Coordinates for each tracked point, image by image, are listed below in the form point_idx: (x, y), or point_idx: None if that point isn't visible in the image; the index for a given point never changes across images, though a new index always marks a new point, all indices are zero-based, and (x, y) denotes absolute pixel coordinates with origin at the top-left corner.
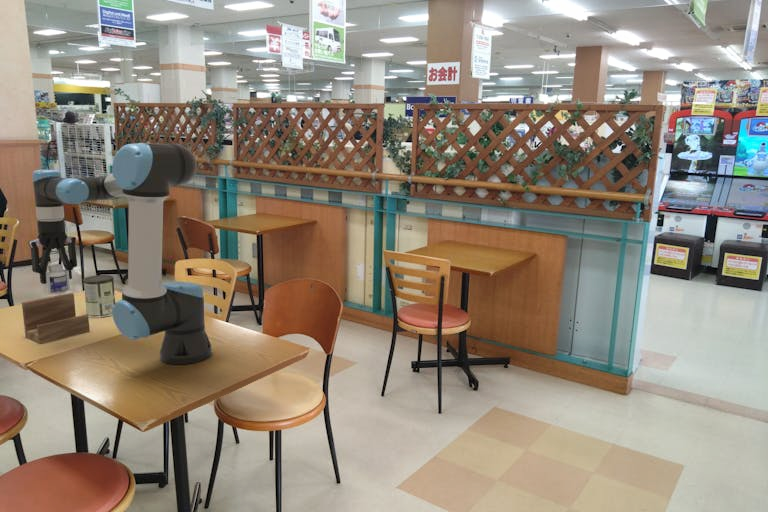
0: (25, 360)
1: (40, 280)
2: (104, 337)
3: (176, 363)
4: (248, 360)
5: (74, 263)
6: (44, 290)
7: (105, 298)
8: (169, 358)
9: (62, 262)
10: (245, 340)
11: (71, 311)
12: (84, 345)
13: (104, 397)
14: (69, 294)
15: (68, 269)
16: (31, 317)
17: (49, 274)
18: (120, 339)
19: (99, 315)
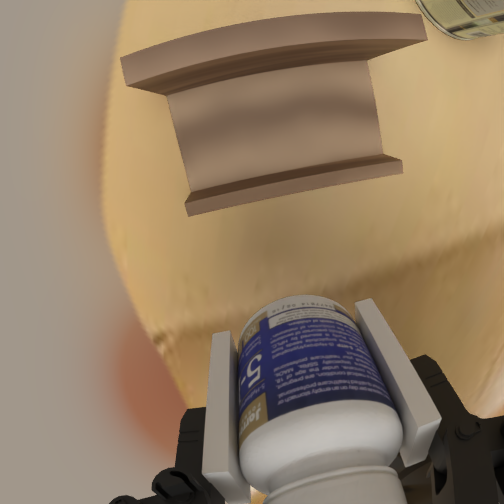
0: (148, 319)
1: (181, 431)
2: (381, 255)
3: None
4: None
5: (498, 473)
6: (212, 347)
7: (502, 30)
8: None
9: (453, 494)
10: (495, 399)
11: (367, 55)
12: (310, 294)
13: None
14: (406, 39)
15: (433, 460)
16: (179, 84)
17: (255, 488)
18: (400, 298)
19: (443, 27)
